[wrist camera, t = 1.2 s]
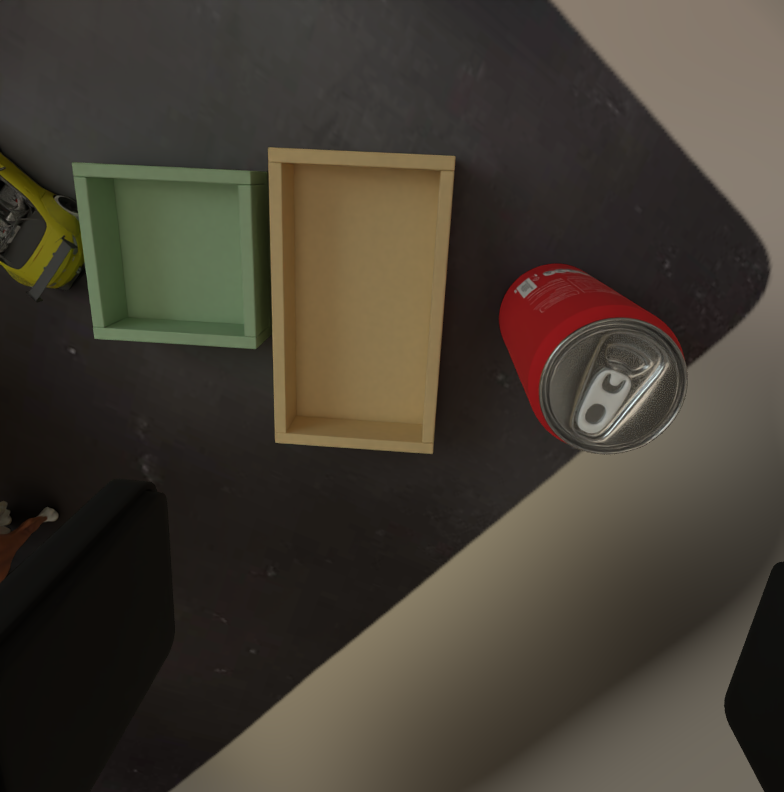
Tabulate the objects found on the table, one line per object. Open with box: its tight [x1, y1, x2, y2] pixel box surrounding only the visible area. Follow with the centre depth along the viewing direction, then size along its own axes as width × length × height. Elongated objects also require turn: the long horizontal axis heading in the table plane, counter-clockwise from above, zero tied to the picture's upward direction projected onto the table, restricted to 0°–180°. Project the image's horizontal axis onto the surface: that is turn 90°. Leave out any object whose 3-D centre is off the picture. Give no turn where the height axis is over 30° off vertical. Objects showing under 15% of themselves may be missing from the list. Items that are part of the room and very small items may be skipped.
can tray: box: [72, 162, 272, 349], centre depth 29 cm, size 8×8×3 cm
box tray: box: [268, 147, 456, 454], centre depth 30 cm, size 14×8×3 cm, turn 177°
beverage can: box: [499, 264, 688, 454], centre depth 25 cm, size 5×5×12 cm
